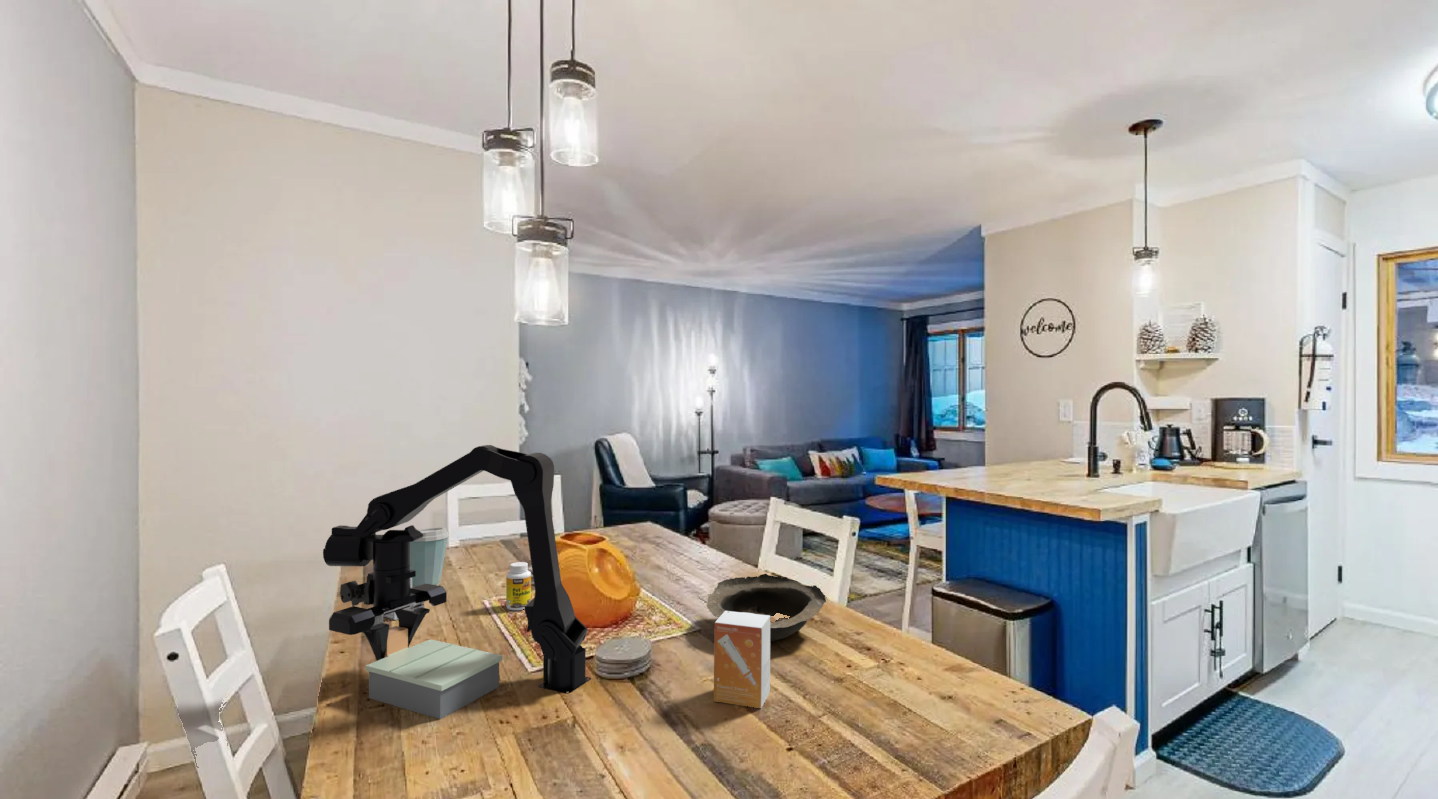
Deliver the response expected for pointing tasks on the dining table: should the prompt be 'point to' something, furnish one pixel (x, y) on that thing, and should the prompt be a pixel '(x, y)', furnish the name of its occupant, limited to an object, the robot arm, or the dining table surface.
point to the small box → (742, 658)
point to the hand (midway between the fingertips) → (391, 657)
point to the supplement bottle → (518, 586)
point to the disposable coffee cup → (428, 556)
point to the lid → (430, 661)
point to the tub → (433, 692)
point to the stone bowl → (768, 601)
